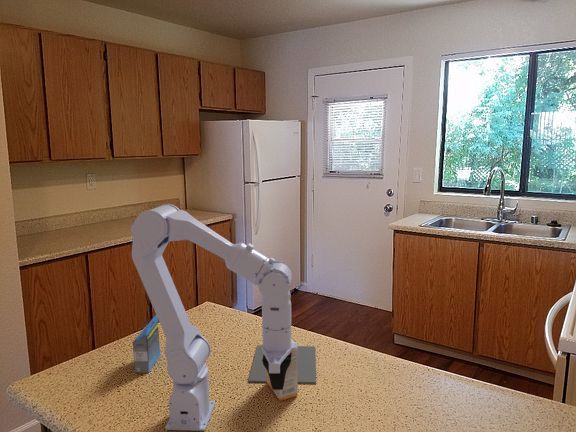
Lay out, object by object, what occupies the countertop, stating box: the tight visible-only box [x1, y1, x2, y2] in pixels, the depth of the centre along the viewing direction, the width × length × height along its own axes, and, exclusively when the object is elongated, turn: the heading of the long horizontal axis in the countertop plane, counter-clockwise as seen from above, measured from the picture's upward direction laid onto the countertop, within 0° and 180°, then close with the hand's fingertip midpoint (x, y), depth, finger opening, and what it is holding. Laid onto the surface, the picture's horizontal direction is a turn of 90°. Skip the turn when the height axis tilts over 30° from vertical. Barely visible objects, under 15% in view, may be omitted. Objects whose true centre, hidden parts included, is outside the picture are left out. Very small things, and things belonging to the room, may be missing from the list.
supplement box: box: [266, 336, 299, 402], centre depth 97 cm, size 8×5×13 cm, turn 25°
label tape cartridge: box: [132, 314, 161, 374], centre depth 110 cm, size 9×4×12 cm, turn 179°
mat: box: [248, 344, 317, 385], centre depth 110 cm, size 18×16×1 cm
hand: (277, 387), depth 87 cm, fingers closed
